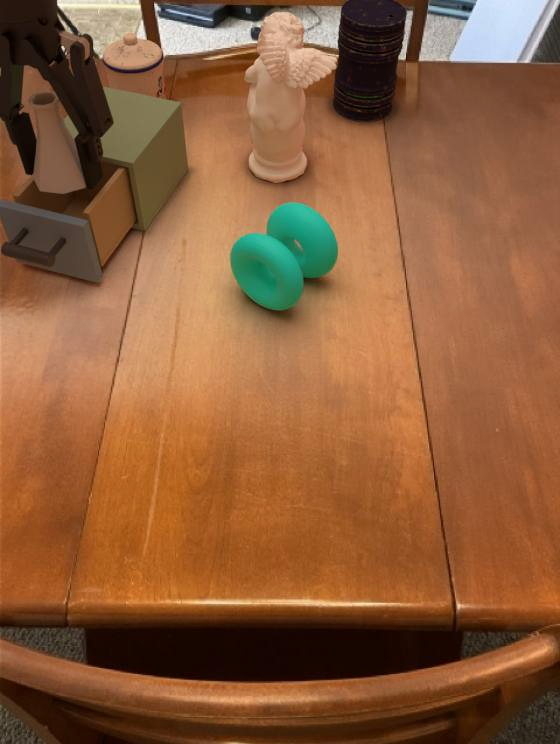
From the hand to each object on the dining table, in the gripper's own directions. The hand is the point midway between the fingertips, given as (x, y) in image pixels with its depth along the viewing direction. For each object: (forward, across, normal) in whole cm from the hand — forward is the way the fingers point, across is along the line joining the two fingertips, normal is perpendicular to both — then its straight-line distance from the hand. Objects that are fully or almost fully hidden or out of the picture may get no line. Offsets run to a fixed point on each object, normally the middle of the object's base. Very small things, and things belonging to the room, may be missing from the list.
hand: (64, 175), depth 80 cm
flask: (+1, 0, 0) cm, 1 cm away
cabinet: (+11, 0, +12) cm, 17 cm away
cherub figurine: (+11, +20, +24) cm, 34 cm away
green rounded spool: (+11, +27, +2) cm, 29 cm away
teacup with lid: (+11, -8, +34) cm, 36 cm away
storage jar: (+11, +26, +46) cm, 54 cm away
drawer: (+10, 0, -2) cm, 10 cm away
